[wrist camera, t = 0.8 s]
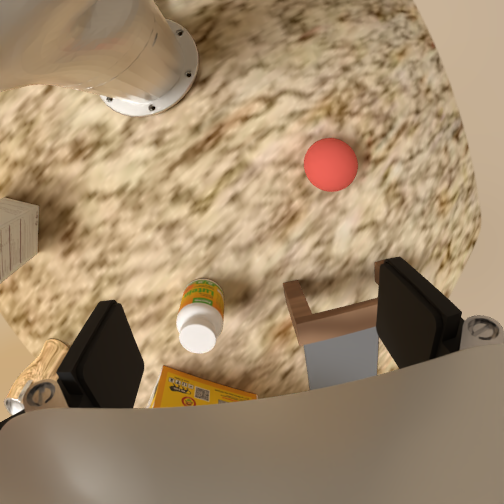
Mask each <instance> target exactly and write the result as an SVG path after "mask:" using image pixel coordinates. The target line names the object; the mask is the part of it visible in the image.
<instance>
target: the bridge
mask: <svg viewBox="0 0 504 504" xmlns="http://www.w3.org/2000/svg"><path fill="white" fill-rule="evenodd" d="M383 263H384V260H382V261H377V262H375V282H376V283H377V284H378V285H379V269H380V265H381V264H383ZM283 287H284V293H285V298H286V303H287V307H288V310H289V313H290V316H291V320H292V323H293V326H294V329H295V333H296V336H297V339H298V343H299V346H302V345H306V344H311V343H315V342H319V341H323V340H327V339H331V338H335V337H339V336H343V335H347V334H350V333H354V332H358V331H361V330H365V329H368V328H372V327H375V326H376V319H377V306H378V298H375V299H371V300H367V301H364V302H360V303H356V304H352V305H348V306H344V307H340V308H336V309H332V310H328V311H324V312H320V313H315V314H312V313H311V310H310V308H309V306H308V303H307V301H306V298H305V296H304V294H303V291H302V289H301V287H300V284H299V282H298V280H295V281H291V282H286V283H283Z"/></svg>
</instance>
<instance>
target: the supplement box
mask: <svg viewBox="0 0 504 504" xmlns="http://www.w3.org/2000/svg"><path fill="white" fill-rule="evenodd" d="M38 224H39V206H38V205H34V204H30V203H26V202H21V201H17V200H13V199H9V198H5V197H4V198H2V199H0V284H1V283H2V282H3V281H4V280H5V279H7V278H8V277H9V276H10V275H11V274H13V273H14V272H15V271H16V270H17V269H19V268H20V267H21V266H22V265H24V264H25V263H26V262H27V261H29V260H30V259H31V258H32V257H34V256H35V255H36V254H37V253H38Z"/></svg>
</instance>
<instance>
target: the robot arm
mask: <svg viewBox="0 0 504 504" xmlns="http://www.w3.org/2000/svg"><path fill="white" fill-rule="evenodd" d="M180 33H183V34H182V35H181V36H179V34H180ZM198 65H199V56H198V50H197V47H196V44H195V42H194V40H193V38H192V36H191V35H190V33H189V32H188V31H187V30H186V29H185V28H184V27H182V26H181V25H180V24H178V23H176V22H174V21H172V20H169V19H165V18H164V16H163V15H162V13H161V12H160V10H159V8H158V7H157V5H156V4H155V2H154V0H0V92H2V91H6V90H11V89H15V88H19V87H24V86H29V85H38V84H42V85H53V86H60V87H65V88H70V89H75V90H80V91H85V92H89V93H93V94H98V95H100V97H101V99H102V100H103V101H104V103H105V104H106V105H107V106H108V107H110V108H111V109H113V110H114V111H116V112H118V113H120V114H123V115H127V116H133V117H146V116H151V115H155V114H159V113H161V112H163V111H165V110H168V109H169V108H171V107H172V106H174V105H175V104H177V103H178V102H179V101H180V100H181V99H182V98H183V97H184V96H185V95H186V93H187V92H188V91H189V89H190V88H191V86H192V84H193V82H194V80H195V78H196V75H197V71H198ZM188 74H191V77H187V75H188ZM111 98H113V100H112V101H111ZM153 106H155V107H156V108H155V110H152V107H153ZM461 314H462V312H461V311H460V310H459V309H458V308H457V307H456V306H455V305H454V304H453V303H452V302H451V301H450V300H449V299H448V298H446V297H445V296H444V295H443V294H442V293H441V292H440V291H439V290H438V289H437V288H435V287H434V286H433V285H432V284H431V283H430V282H429V281H428V280H427V279H425V278H424V277H423V276H422V275H421V274H420V273H419V272H417V271H416V270H415V269H414V268H413V267H412V266H410V265H409V264H408V263H407V262H406V261H405V260H403V259H402V258H401V257H395V258H390V259H385V260H384V263H383V264H381V265H380V269H379V291H378V306H377V319H376V331H377V334H378V336H379V337H380V339H381V340H382V342H383V344H384V345H385V347H386V348H387V350H388V351H389V353H390V355H391V356H392V358H393V359H394V361H395V362H396V364H397V366H398V367H399V369H398V370H394V371H391V372H387V373H384V374H380V375H376V376H372V377H368V378H364V379H360V380H356V381H352V382H348V383H343V384H339V385H334V386H330V387H325V388H320V389H315V390H310V391H304V392H299V393H293V394H288V395H281V396H275V397H269V398H262V399H254V400H247V401H239V402H230V403H221V404H210V405H198V406H183V407H165V408H133V406H134V403H135V399H136V396H137V392H138V389H139V385H140V382H141V378H142V375H143V371H144V361H143V359H142V356H141V354H140V351H139V349H138V347H137V344H136V342H135V339H134V337H133V334H132V331H131V329H130V326H129V324H128V321H127V318H126V315H125V313H124V310H123V307H122V305H121V304H120V303H117V302H116V301H115V300H109V301H100V302H99V303H98V305H97V306H96V308H95V309H94V311H93V312H92V314H91V315H90V317H89V319H88V320H87V322H86V323H85V325H84V326H83V328H82V330H81V331H80V333H79V334H78V336H77V338H76V339H75V341H74V343H73V344H72V346H71V347H70V349H69V351H68V352H67V354H66V356H65V357H64V359H63V361H62V363H61V364H60V366H59V368H58V369H57V371H56V373H57V375H58V377H59V378H58V380H57V382H56V381H54V380H52V379H44V380H41V381H38V382H36V383H34V384H33V385H31V386H30V387H29V388H28V389H27V391H26V392H25V394H24V396H23V405H24V409H23V410H21V411H20V412H18V413H16V414H14V415H12V416H11V417H9V418H7V419H5V420H4V421H2V422H0V504H504V331H503V328H502V326H501V325H500V323H498V322H497V321H496V320H494V319H492V318H490V317H487V316H480V315H477V316H472V317H469V318H467V319H466V320H465V321H464V320H463V319H462V318H461Z"/></svg>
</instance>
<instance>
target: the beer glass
mask: <svg viewBox="0 0 504 504" xmlns="http://www.w3.org/2000/svg"><path fill="white" fill-rule="evenodd" d="M68 351H69V348H68V347H67V346H66V345H65V344H64V343H63V342H61V341H59V340H56V339H49V340H47V341H46V342H45V343H44V345H43V348H42V350H41V352H40V354H39V356H38V357H37V358H36V359H35V360H34V361H33V362H32V363H31V364H30V365H29V366H28V367H27V368H26V369H24V370H23V371H22V373H21V374H20V375H19V376H18V377H17V379H16V380H15V382H14V383H13V385H12V387H11V389H10V391H9V393H8V395H7V397H6V399H5V400H4V404H5V407H6V409H7V410H8V412H9V413H10V414H11V416H12V415H14V414H16V413H18V412H20V411H21V410H23V409H24V405H23V396H24V394H25V392H26V391H27V389H28V388H29V387H30V386H31V385H33V384H34V383H36V382H38V381H41V380H44V379H52V380H54V381H56V382H57V380H58V378H59V377H58V375H57V373H56V371H57V369H58V368H59V366H60V364H61V363H62V361H63V359H64V357H65V356H66V354H67V352H68Z"/></svg>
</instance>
